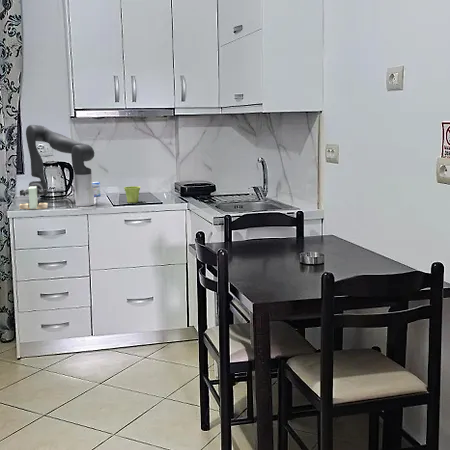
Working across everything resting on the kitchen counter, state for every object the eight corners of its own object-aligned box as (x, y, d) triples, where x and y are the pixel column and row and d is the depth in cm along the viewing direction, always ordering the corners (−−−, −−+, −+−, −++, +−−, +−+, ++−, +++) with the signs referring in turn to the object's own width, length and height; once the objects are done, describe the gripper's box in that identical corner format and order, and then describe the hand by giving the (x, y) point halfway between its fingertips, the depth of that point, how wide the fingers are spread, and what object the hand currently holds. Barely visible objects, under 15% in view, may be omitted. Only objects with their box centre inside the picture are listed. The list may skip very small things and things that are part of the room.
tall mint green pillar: (37, 206, 364) (36, 186, 362) (36, 208, 357) (35, 188, 355) (31, 206, 364) (29, 186, 362) (29, 208, 356) (28, 188, 354)
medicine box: (91, 197, 402) (90, 183, 401) (86, 197, 405) (85, 182, 403) (100, 196, 408) (100, 182, 407) (95, 195, 411) (95, 181, 409)
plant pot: (131, 204, 371) (131, 188, 370) (120, 202, 377) (120, 187, 376) (144, 202, 378) (144, 186, 377) (133, 200, 384) (133, 185, 383)
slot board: (47, 206, 365) (47, 202, 364) (46, 208, 358) (46, 204, 358) (21, 207, 362) (20, 203, 362) (19, 209, 356) (19, 205, 355)
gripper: (21, 184, 371) (18, 187, 355) (48, 183, 373) (45, 186, 358) (22, 197, 372) (19, 201, 356) (48, 196, 375) (46, 200, 359)
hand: (32, 193), depth 357 cm, fingers open, 8 cm apart
